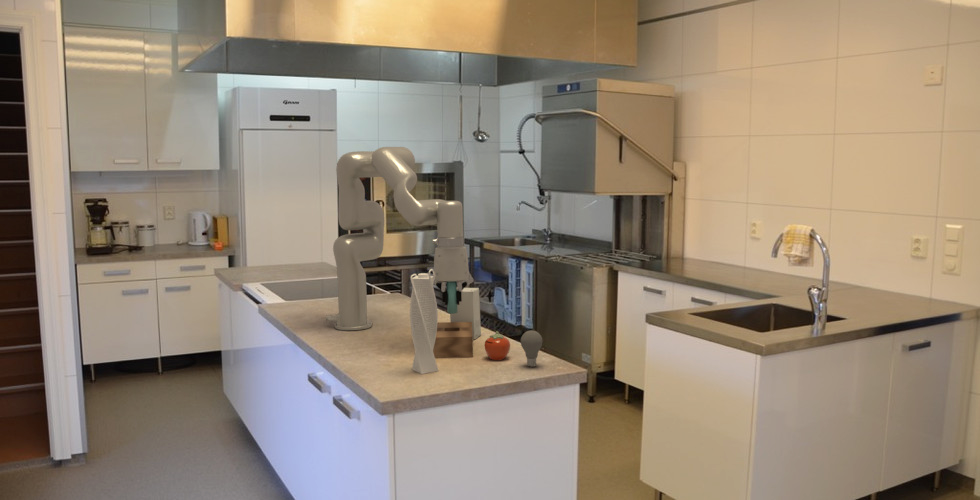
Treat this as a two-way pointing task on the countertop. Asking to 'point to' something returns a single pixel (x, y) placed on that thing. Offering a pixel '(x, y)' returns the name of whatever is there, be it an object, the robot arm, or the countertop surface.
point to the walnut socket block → (453, 340)
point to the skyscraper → (423, 322)
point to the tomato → (497, 346)
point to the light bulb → (531, 346)
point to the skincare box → (469, 310)
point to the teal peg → (451, 297)
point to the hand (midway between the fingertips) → (452, 303)
